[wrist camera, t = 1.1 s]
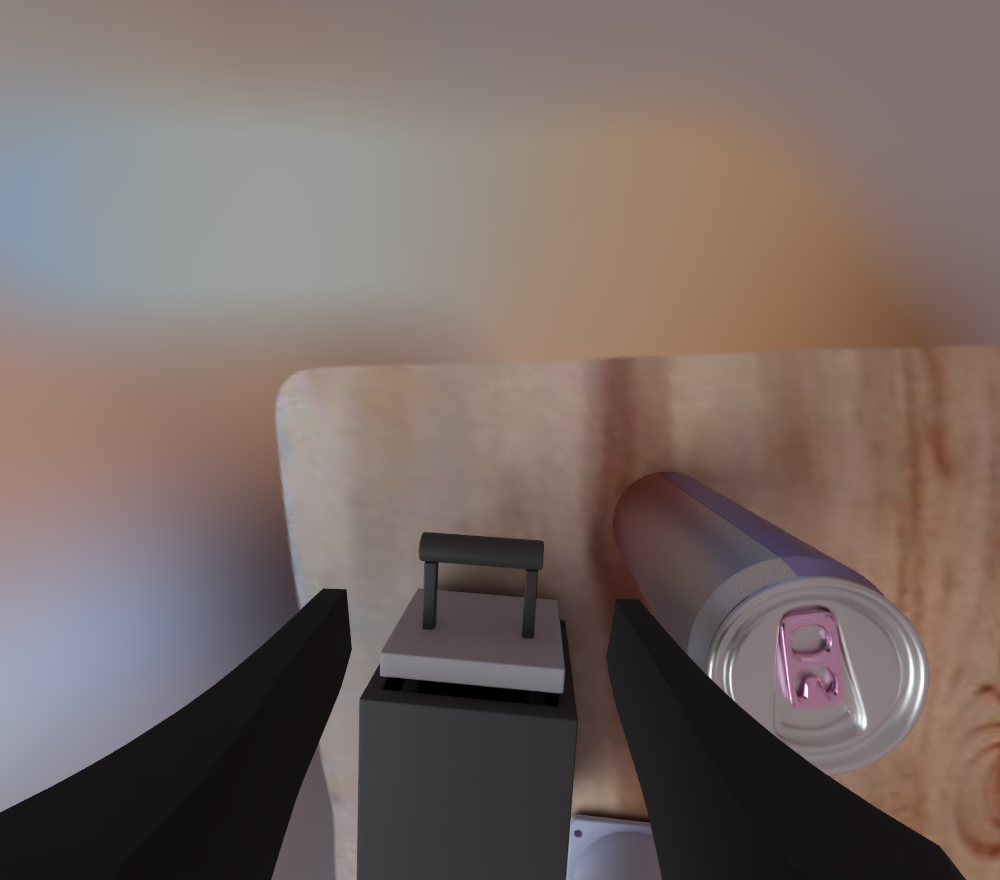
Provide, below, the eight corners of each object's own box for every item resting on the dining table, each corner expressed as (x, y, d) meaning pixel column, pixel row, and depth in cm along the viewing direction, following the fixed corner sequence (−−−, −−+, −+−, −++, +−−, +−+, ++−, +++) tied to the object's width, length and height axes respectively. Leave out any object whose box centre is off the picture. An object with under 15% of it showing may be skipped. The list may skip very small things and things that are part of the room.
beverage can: (707, 462, 26) (929, 557, 12) (720, 561, 27) (948, 773, 12) (603, 478, 27) (687, 589, 12) (618, 575, 28) (716, 794, 13)
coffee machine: (411, 606, 29) (358, 698, 20) (565, 620, 28) (578, 720, 20) (406, 774, 30) (355, 927, 22) (553, 790, 29) (560, 955, 21)
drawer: (420, 508, 27) (382, 548, 20) (563, 518, 27) (572, 563, 20) (412, 747, 29) (375, 856, 22) (546, 761, 28) (550, 878, 22)
